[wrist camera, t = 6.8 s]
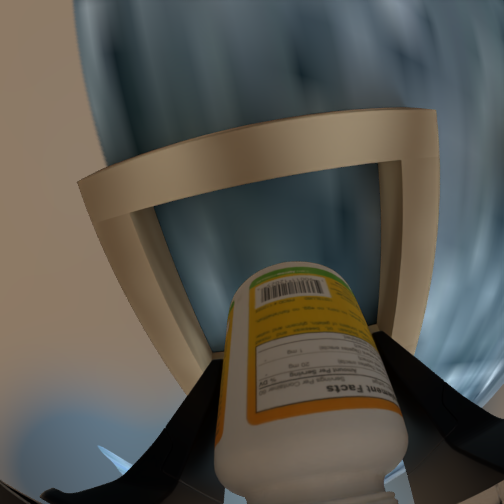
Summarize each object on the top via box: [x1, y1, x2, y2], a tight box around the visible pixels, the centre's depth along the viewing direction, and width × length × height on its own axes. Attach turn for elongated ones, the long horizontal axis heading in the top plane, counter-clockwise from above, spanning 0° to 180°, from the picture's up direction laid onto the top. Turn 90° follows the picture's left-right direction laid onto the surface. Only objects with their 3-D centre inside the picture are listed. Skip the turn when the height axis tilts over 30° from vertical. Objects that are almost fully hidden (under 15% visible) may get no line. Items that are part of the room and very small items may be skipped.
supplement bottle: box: [214, 261, 408, 504], centre depth 8 cm, size 5×5×10 cm
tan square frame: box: [77, 107, 440, 395], centre depth 14 cm, size 15×15×2 cm
